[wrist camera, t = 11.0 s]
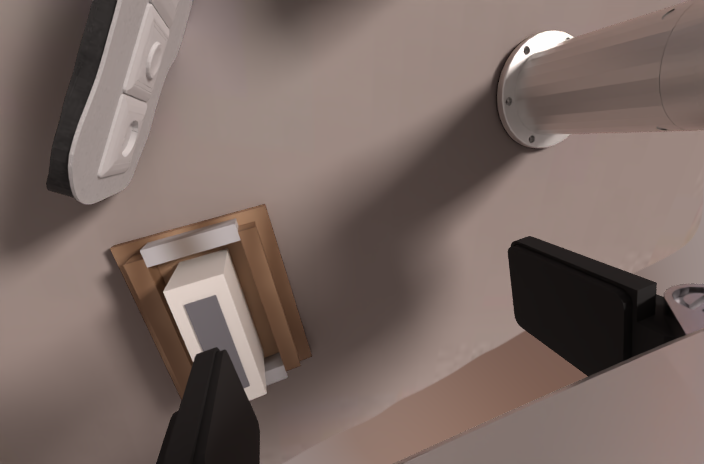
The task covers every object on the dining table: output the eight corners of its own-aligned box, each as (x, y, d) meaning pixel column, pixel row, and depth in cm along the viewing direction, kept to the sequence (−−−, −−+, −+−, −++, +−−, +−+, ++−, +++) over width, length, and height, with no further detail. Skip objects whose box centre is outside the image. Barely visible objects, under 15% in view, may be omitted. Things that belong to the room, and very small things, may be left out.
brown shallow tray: (265, 203, 35) (266, 210, 31) (310, 351, 40) (316, 369, 37) (114, 245, 32) (98, 257, 28) (185, 398, 37) (179, 423, 34)
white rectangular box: (227, 248, 34) (223, 274, 27) (263, 350, 37) (266, 395, 31) (179, 262, 33) (162, 292, 26) (220, 365, 36) (215, 415, 30)
